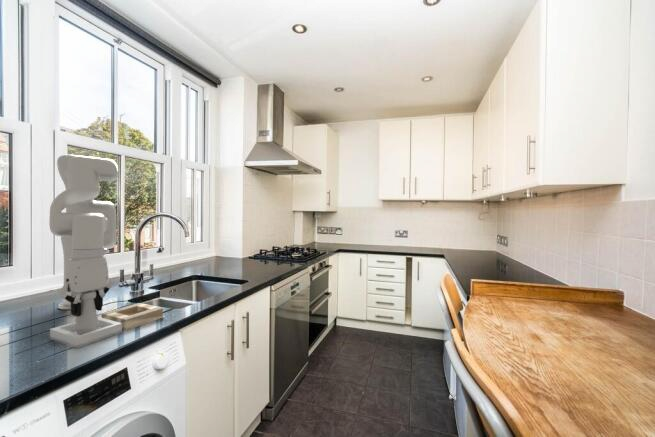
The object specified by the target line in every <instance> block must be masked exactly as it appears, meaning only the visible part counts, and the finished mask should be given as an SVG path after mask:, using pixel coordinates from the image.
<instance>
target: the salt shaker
mask: <svg viewBox="0 0 655 437" xmlns="http://www.w3.org/2000/svg"><path fill="white" fill-rule="evenodd" d="M95 297H96V292H95V291H94V290H93V291H88V292H83V293H81V296H80V299H79V300H81V302H80V303H81V315H80V316H78V317H77V316H76V318H75V319H76V320H75V322H76V323H75V327H74V329H75V331H76V332H77V334H79V335H82V334H85V333H88V332H91V331H94V330H96V329H97V327H98V325H99V322H98V318H97V317H98V314H97V313H98V312H97V310H96V308H95V303H94V298H95Z"/></svg>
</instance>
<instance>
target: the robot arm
mask: <svg viewBox="0 0 655 437" xmlns="http://www.w3.org/2000/svg"><path fill="white" fill-rule="evenodd" d="M56 165H57V172H58V173H59V176H60V178H61V180H62V182H63V184H64V186H65V190H64V191H61V193H59V194H58V195H57V196H56V197H55V198H53V200H52V201H51V204H50V206H49V220H48V221H49V222H48V223H49V230H50V232H51V233H52V234H53V235H54V236H57V237H60V241H61V247H62V251H63V252H62V253H63V284H62V285H63V286H62V287H61V288H60V289H59V291H58V292H57V293H56V296H57V297H60V298H61V299H63V301H61V302H60V303H59V304H58V305H57V308H58V309H60V310H67V311H68V310H69V311H70V314H71V315H72V316H74V317H76V318H77V317H78V316H80V315H81V303H80V302H81V300H79V299H80V296H81V293H83V292H88V291H93V290H94V291H95V292H96V297H95V298H94V303H95V308H96V311H102V310H103V304H104V297H105V296H106V295H107V293H108V292H109V291H110V289H111V288H113V286H115V282H113V281H112V279H110V277H109V267H108V261H107V258H106V256H105V254H106V253H108V251H109V249H113V248H114V247H115V246H116V245H117V239H118V238H117V234H118V232H117V209H116V206H115V204H114V203H113V202H111V201H107V200H106V201H105V200H103V201H102V200H95V199H96V198H97V197H98V196H100V193H101V186H100V181H103V182H115V181H117V179H118V177H119V167H118V164H117V163H116V161H115V160H113V159H109V158H104V157H103V158H101V157H95V156H85V155H78V154H77V155H76V154H64V155H62V154H61V155H60V156H59V157H58V158H57V162H56ZM63 210H65V212H63Z"/></svg>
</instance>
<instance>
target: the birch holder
mask: <svg viewBox="0 0 655 437" xmlns="http://www.w3.org/2000/svg"><path fill="white" fill-rule="evenodd" d="M101 318H105V319H108V320H112V321H116V322H119V323H122V331H128V330H131V329H134V328H137V327H139V326H143V325H145V324H148V323H151V322H154V321H157V320H159V319H162V318H164V308H163V307H161V306H155V305H152V304H146V303H142V302H137V303H134V304H129V305H127V306H123V307H119V308H116V309H113V310H108V311H106V312H102V313H101Z"/></svg>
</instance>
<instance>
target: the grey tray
mask: <svg viewBox="0 0 655 437" xmlns="http://www.w3.org/2000/svg"><path fill="white" fill-rule="evenodd" d="M97 318H98V322H99V325H98V327H97V329H96V330H94V331H91V332H88V333H85V334H82V335H79V334H77V332H76V331H75V329H74V327H75V323H76V321H73V322H70V323H67V324H62V325H59V326H56V327H53V328H50V329H49V339H50V340H51V341H55V342H57V343H60V344H63V345H66V346H68V347H71V348H73V349H80V348H83V347H86V346H88V345H89V346H90V344H94V343H97V342H100V341H103V340H106V339H109V338H111V337H114V336H117V335H119V334H122V333H123V330H122V323H119V322H116V321H112V320H108V319H105V318H102V316H97Z"/></svg>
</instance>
